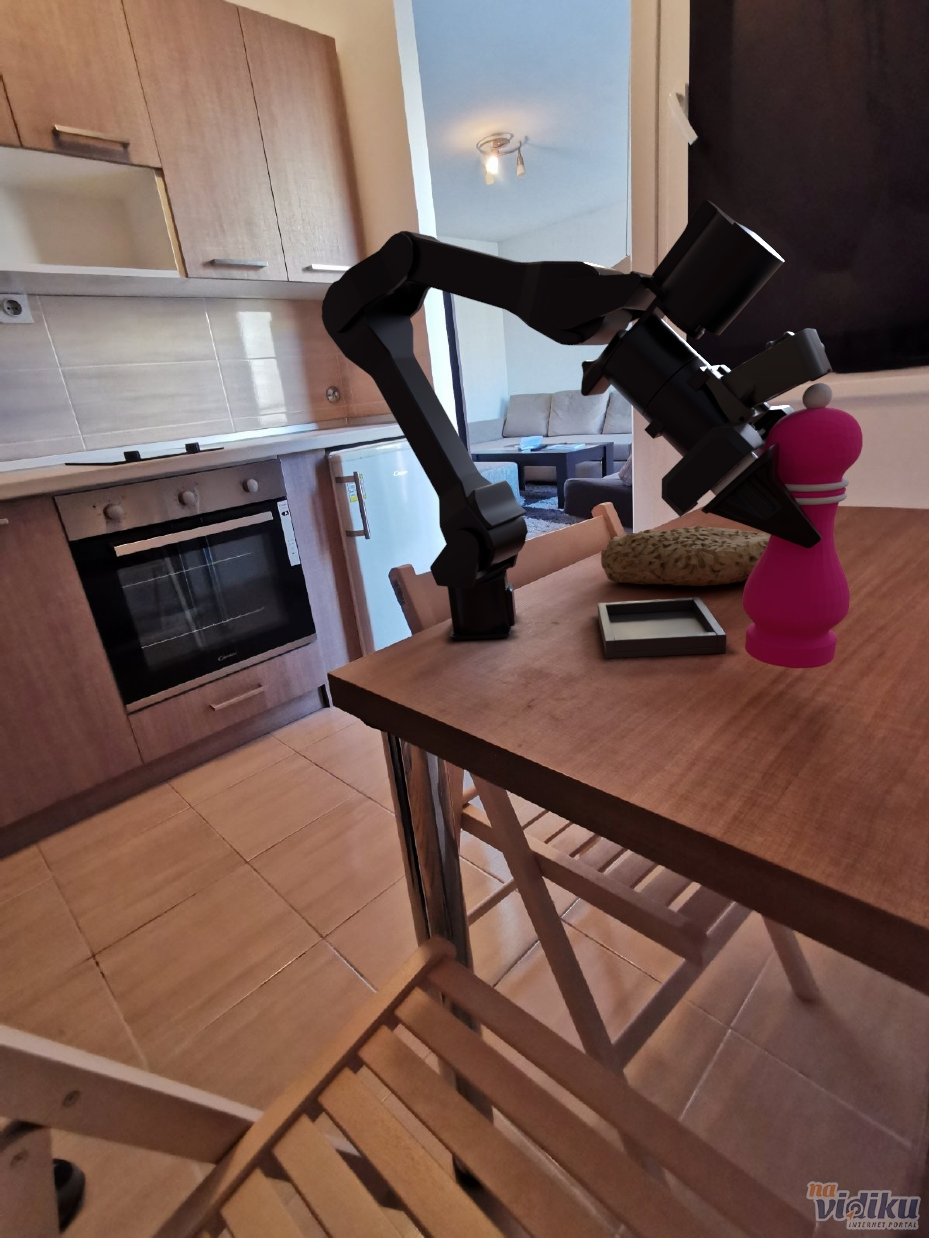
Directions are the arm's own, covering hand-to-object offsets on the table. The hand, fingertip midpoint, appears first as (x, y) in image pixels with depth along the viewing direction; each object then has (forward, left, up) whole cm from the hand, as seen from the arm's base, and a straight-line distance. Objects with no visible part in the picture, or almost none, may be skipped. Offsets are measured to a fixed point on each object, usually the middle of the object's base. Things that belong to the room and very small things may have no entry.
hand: (821, 535), depth 43 cm
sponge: (-3, +27, -12) cm, 30 cm away
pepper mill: (-1, 0, -10) cm, 10 cm away
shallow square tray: (-10, +11, -12) cm, 19 cm away
